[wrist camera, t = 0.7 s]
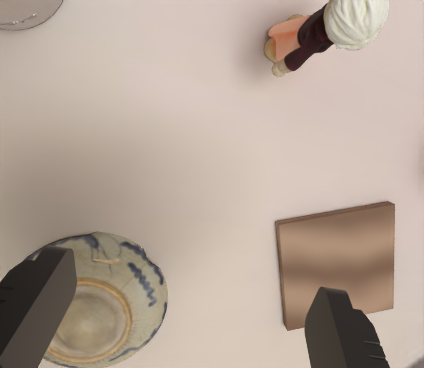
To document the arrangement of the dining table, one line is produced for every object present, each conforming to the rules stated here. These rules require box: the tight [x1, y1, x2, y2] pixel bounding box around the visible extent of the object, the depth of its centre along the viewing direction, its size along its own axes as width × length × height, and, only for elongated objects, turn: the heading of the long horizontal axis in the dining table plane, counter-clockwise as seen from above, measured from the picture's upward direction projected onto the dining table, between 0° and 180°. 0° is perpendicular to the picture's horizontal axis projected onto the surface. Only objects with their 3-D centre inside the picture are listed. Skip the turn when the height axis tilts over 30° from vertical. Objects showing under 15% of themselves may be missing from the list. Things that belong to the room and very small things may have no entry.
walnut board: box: [276, 202, 395, 331], centre depth 34 cm, size 12×12×1 cm
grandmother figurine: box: [264, 0, 389, 77], centre depth 23 cm, size 8×4×13 cm, turn 143°
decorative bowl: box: [25, 232, 168, 368], centre depth 31 cm, size 15×4×15 cm
